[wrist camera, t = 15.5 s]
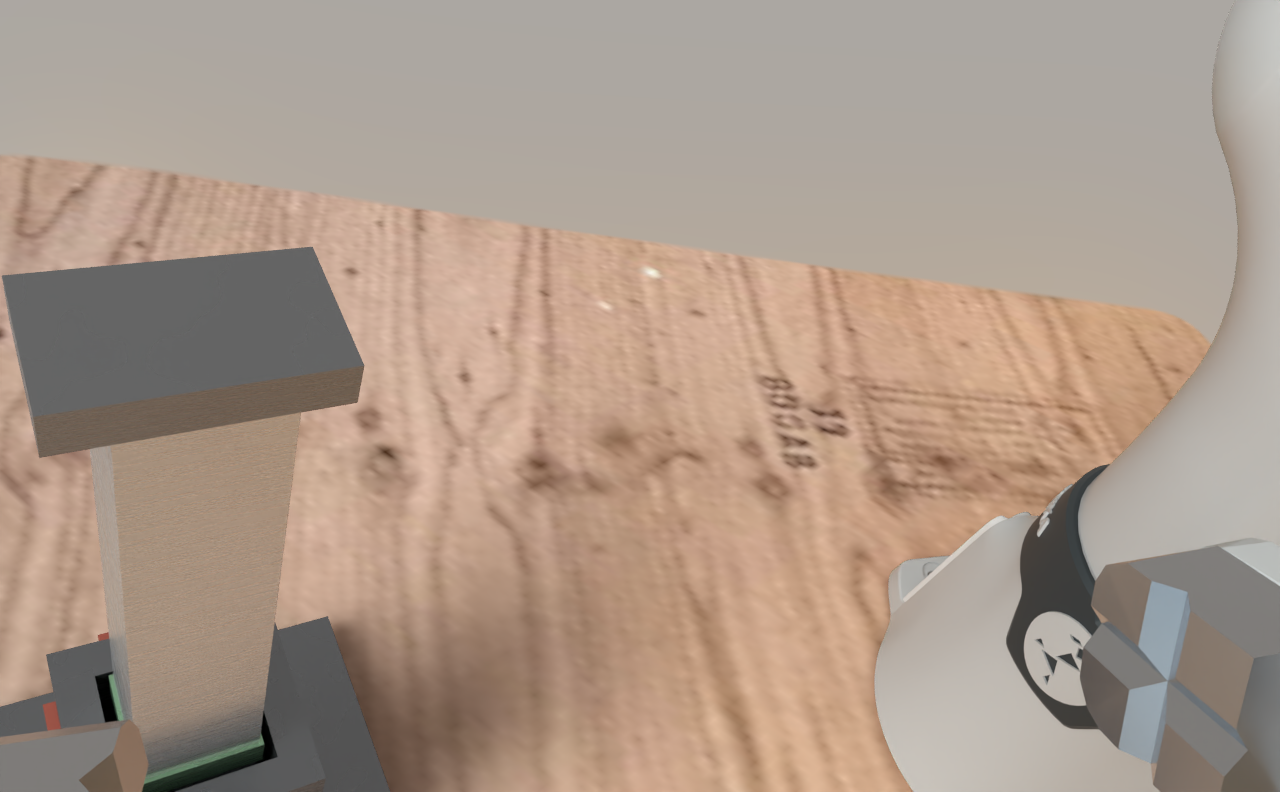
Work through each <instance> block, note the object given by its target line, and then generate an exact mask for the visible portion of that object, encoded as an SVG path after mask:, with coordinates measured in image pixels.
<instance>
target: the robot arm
mask: <svg viewBox="0 0 1280 792" xmlns="http://www.w3.org/2000/svg"><path fill="white" fill-rule="evenodd" d="M1212 104H1213V116H1214V122H1215V127H1216V132H1217V135H1218V138H1219V141H1220V144H1221V147H1222V150H1223V153H1224V156H1225V159H1226V162H1227V165H1228V168H1229V172H1230V177H1231V181H1232V186H1233V191H1234V195H1235V201H1236V213H1237V223H1238V250H1237V251H1238V252H1237V263H1236V271H1235V278H1234V283H1233V288H1232V292H1231V296H1230V299H1229V303H1228V306H1227V309H1226V312H1225V315H1224V318H1223V320H1222V323H1221V325H1220V328H1219V330H1218V332H1217V334H1216V336H1215V338H1214V340H1213V343H1212V344H1211V346H1210V348H1209V350H1208V352H1207V353H1206V355H1205V357H1204V358H1203V360H1202V361H1201V363H1200V364H1199V366H1198V367H1197V369H1196V370H1195V371H1194V373H1193V374H1192V375H1191V376H1190V378H1189V379H1188V380H1187V381H1186V382H1185V384H1184V385H1183V386H1182V387H1181V388H1180V390H1179V391H1178V392H1177V393H1176V394H1175V396H1174V397H1173V398H1172V399H1171V400H1170V402H1169V403H1168V404H1167V405H1166V406H1165V407H1164V408H1163V409H1162V411H1161V412H1160V413H1159V414H1158V415H1157V416H1156V417H1155V418H1154V420H1153V421H1152V422H1151V423H1150V424H1149V425H1148V426H1147V427H1146V428H1145V429H1144V430H1143V431H1142V432H1141V434H1140V435H1139V436H1138V437H1137V438H1136V439H1135V440H1134V441H1133V442H1132V443H1131V444H1130V445H1129V446H1128V447H1127V448H1126V449H1125V450H1124V451H1123V452H1122V453H1121V454H1120V455H1119V456H1118V457H1117V458H1116V459H1115V460H1114V461H1113V462H1112V463H1111V464H1108V465H1103V466H1100V467H1097V468H1095V469H1093V470H1091V471H1090V472H1088V473H1086V474H1085V475H1084V476H1083V477H1082V478H1080V479H1079V480H1078V481H1077V482H1076V483H1075V484H1074V485H1072V484H1071V485H1069V486H1068V487H1066V488H1065V489H1064V490H1063V491H1062V492H1061V493H1059V494H1058V495H1057V496H1056V497H1055V498H1054V499H1053V500H1052V501H1051V502H1050V503H1049V505H1048V506H1047V507H1046V510H1045V511H1044V512H1043V513H1042V514H1041V515H1040V516H1031V514H1030V513H1028V512H1023V513H1019V514H1017V515H1015V516H1013V517H1011V518H1009V519H1008V518H1006V517H1004V516H998V517H996V518H994V519H992V520H991V521H989V522H988V523H987V524H985V525H984V526H983V527H982V528H981V529H980V530H979V531H978V532H976V533H975V534H974V535H973V536H972V537H971V538H970V539H968V540H967V541H966V542H965V543H964V544H963V545H962V546H961V547H959V548H958V549H957V550H956V551H955V552H954V553H953V554H952V555H950V556H940V557H930V558H920V559H910V560H906V561H904V562H903V563H901V564H900V565H899V566H898V567H896V568H895V569H894V570H893V571H892V572H891V574H890V576H889V583H888V590H889V604H890V612H891V617H890V623H889V626H888V629H887V631H886V634H885V636H884V639H883V641H882V644H881V646H880V649H879V653H878V656H877V661H876V668H875V683H874V684H875V698H876V706H877V711H878V716H879V720H880V724H881V727H882V730H883V734H884V737H885V739H886V742H887V744H888V747H889V749H890V751H891V754H892V756H893V758H894V760H895V762H896V764H897V766H898V768H899V770H900V771H901V773H902V775H903V776H904V778H905V780H906V781H907V783H908V784H909V786H910V787H911V789H912V790H913V792H1280V0H1235V1H1234V3H1233V5H1232V8H1231V10H1230V12H1229V14H1228V17H1227V19H1226V21H1225V24H1224V28H1223V31H1222V34H1221V37H1220V40H1219V44H1218V48H1217V53H1216V58H1215V63H1214V69H1213V83H1212ZM148 765H149V763H148V760H147V756H146V753H145V749H144V745H143V742H142V738H141V734H140V731H139V728H138V727H137V726H136V725H135V724H134V723H133V722H132V721H131V720H130V719H128V720H120V721H113V722H106V723H99V724H92V725H84V726H77V727H70V728H63V729H56V730H49V731H41V732H34V733H27V734H20V735H13V736H5V737H0V792H142V789H143V785H144V781H145V777H146V773H147V769H148Z"/></svg>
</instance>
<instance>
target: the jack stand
mask: <svg viewBox="0 0 1280 792" xmlns="http://www.w3.org/2000/svg"><path fill="white" fill-rule="evenodd" d="M98 639H99V641H98V642H94V643H90V644H86V645H82V646H78V647H74V648H71V649H67V650H63V651H59V652H55V653H51V654H47V655H46V656H47V661H48V666H49V671H50V676H51V681H52V687H53V693H49V694H45V695H42V696H38V697H35V698H31V699H27V700H24V701H20V702H16V703H13V704H9V705H6V706H2V707H0V737H5V736H13V735H20V734H27V733H34V732H41V731H49V730H56V729H63V728H70V727H77V726H84V725H92V724H99V723H106V722H113V721H117V719H116V715H115V710H114V706H113V702H112V697H111V693H110V685H109V676H108V675H112V674H113V669H112V659H111V650H110V640H109V632H108V633H104V634H100V635H98ZM261 735H262V738H263V741H264V751H263V758H262V759H261V760H259V761H257V764H256V765H253V766H250V767H247V768H244V769H241V770H238V771H235V772H232V773H229V774H226V775H223V776H220V777H217V778H214V779H212V780H209V781H206V782H203V783H200V784H197V785H194V786H191V787H188V788H185V789H182V790H179V791H176V792H390V790H389V787H388V784H387V781H386V779H385V776H384V773H383V770H382V767H381V765H380V762H379V759H378V756H377V753H376V751H375V748H374V745H373V742H372V739H371V737H370V734H369V731H368V728H367V725H366V722H365V720H364V717H363V714H362V711H361V708H360V706H359V703H358V700H357V697H356V694H355V692H354V689H353V686H352V683H351V680H350V678H349V675H348V672H347V669H346V666H345V664H344V661H343V658H342V655H341V652H340V650H339V647H338V644H337V641H336V638H335V635H334V633H333V630H332V627H331V624H330V621H329V619H328V616H327V617H324V618H320V619H317V620H313V621H309V622H306V623H302V624H299V625H295V626H291V627H288V628H284V629H280V630H277V627H276V624H275V623H274V631H273V639H272V647H271V655H270V663H269V671H268V679H267V687H266V695H265V703H264V711H263V719H262V727H261Z"/></svg>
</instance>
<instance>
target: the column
mask: <svg viewBox="0 0 1280 792" xmlns="http://www.w3.org/2000/svg"><path fill="white" fill-rule="evenodd" d="M2 279H3V285H4V291H5V297H6V303H7V309H8V315H9V320H10V325H11V329H12V334H13V338H14V343H15V348H16V352H17V357H18V361H19V366H20V371H21V375H22V380H23V384H24V389H25V393H26V398H27V403H28V407H29V412H30V416H31V421H32V426H33V430H34V435H35V439H36V444H37V448H38V453H39V458H41V457H46V456H52V455H58V454H64V453H69V452H75V451H81V450H87V449H90V455H91V465H92V474H93V484H94V494H95V504H96V513H97V523H98V533H99V543H100V552H101V562H102V572H103V582H104V591H105V601H106V611H107V620H108V630H109V640H110V650H111V659H112V669H113V674H112V675H108V676H109V685H110V693H111V697H112V702H113V706H114V710H115V715H116V719H117V721H120V720H128V719H130V720H131V721H132V722H133V723H134V724H135V725H136V726H137V727H138V728H139V731H140V734H141V738H142V742H143V745H144V749H145V753H146V756H147V760H148V763H149V765H148V769H147V773H146V777H145V781H144V785H143V789H142V792H176V791H179V790H182V789H185V788H188V787H191V786H194V785H197V784H200V783H203V782H206V781H209V780H212V779H214V778H217V777H220V776H223V775H226V774H229V773H232V772H235V771H238V770H241V769H244V768H247V767H250V766H253V765H256V764H257V761H259V760H261V759H262V758H263V751H264V741H263V738H262V735H261V727H262V719H263V711H264V703H265V695H266V687H267V679H268V671H269V663H270V655H271V647H272V639H273V631H274V623H275V615H276V607H277V600H278V592H279V584H280V576H281V568H282V560H283V552H284V544H285V536H286V528H287V520H288V512H289V504H290V496H291V488H292V480H293V472H294V465H295V457H296V449H297V441H298V433H299V425H300V417H301V412H306V411H312V410H318V409H324V408H329V407H335V406H341V405H347V404H352V403H357V402H358V397H359V391H360V386H361V381H362V375H363V370H364V364H363V362H362V359H361V357H360V355H359V352H358V350H357V348H356V346H355V343H354V341H353V339H352V336H351V334H350V332H349V329H348V327H347V325H346V323H345V320H344V318H343V316H342V313H341V311H340V309H339V306H338V304H337V302H336V300H335V297H334V295H333V293H332V290H331V288H330V286H329V284H328V281H327V279H326V277H325V274H324V272H323V270H322V267H321V265H320V263H319V261H318V258H317V256H316V254H315V251H314V249H313V247H305V248H295V249H284V250H273V251H262V252H251V253H241V254H230V255H219V256H208V257H198V258H187V259H176V260H165V261H154V262H144V263H133V264H122V265H111V266H101V267H90V268H79V269H68V270H57V271H47V272H36V273H25V274H14V275H3V276H2Z"/></svg>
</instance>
